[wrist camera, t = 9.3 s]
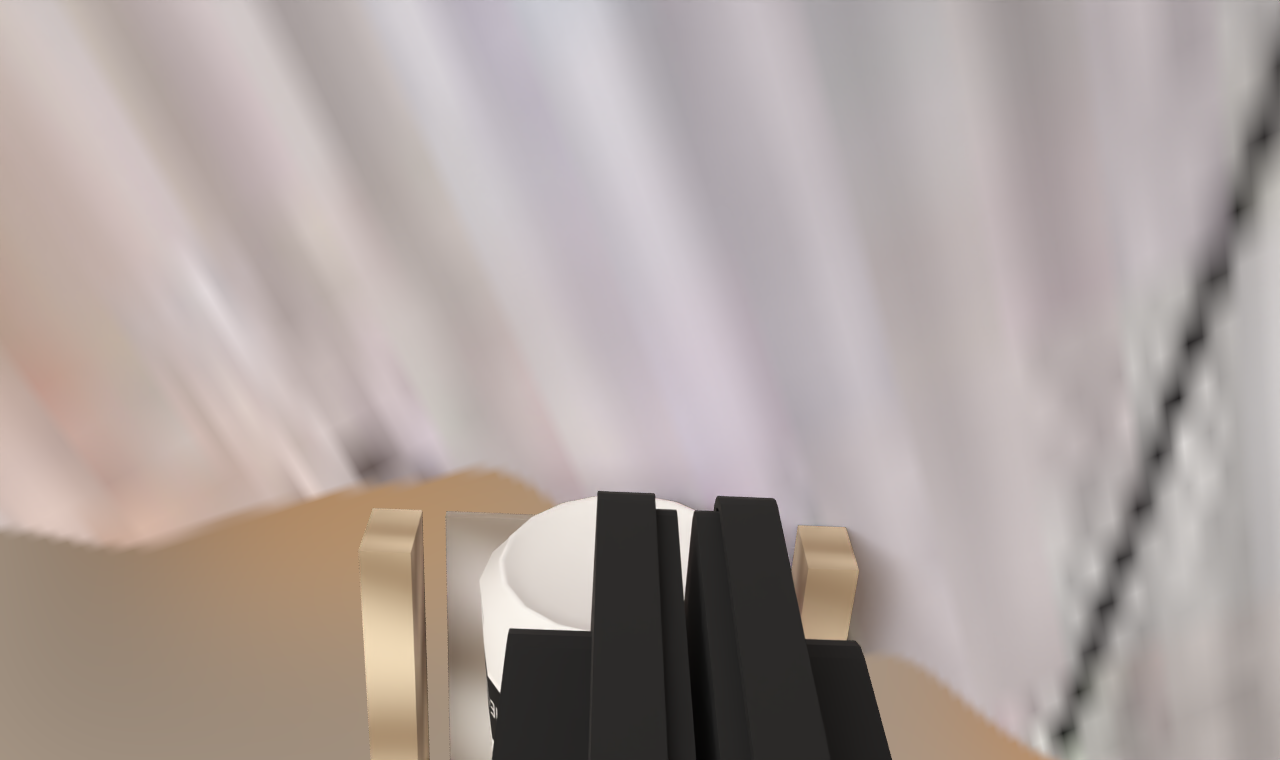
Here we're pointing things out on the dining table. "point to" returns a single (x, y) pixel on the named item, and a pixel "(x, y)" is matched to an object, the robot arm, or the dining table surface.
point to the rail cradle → (401, 627)
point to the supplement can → (547, 580)
